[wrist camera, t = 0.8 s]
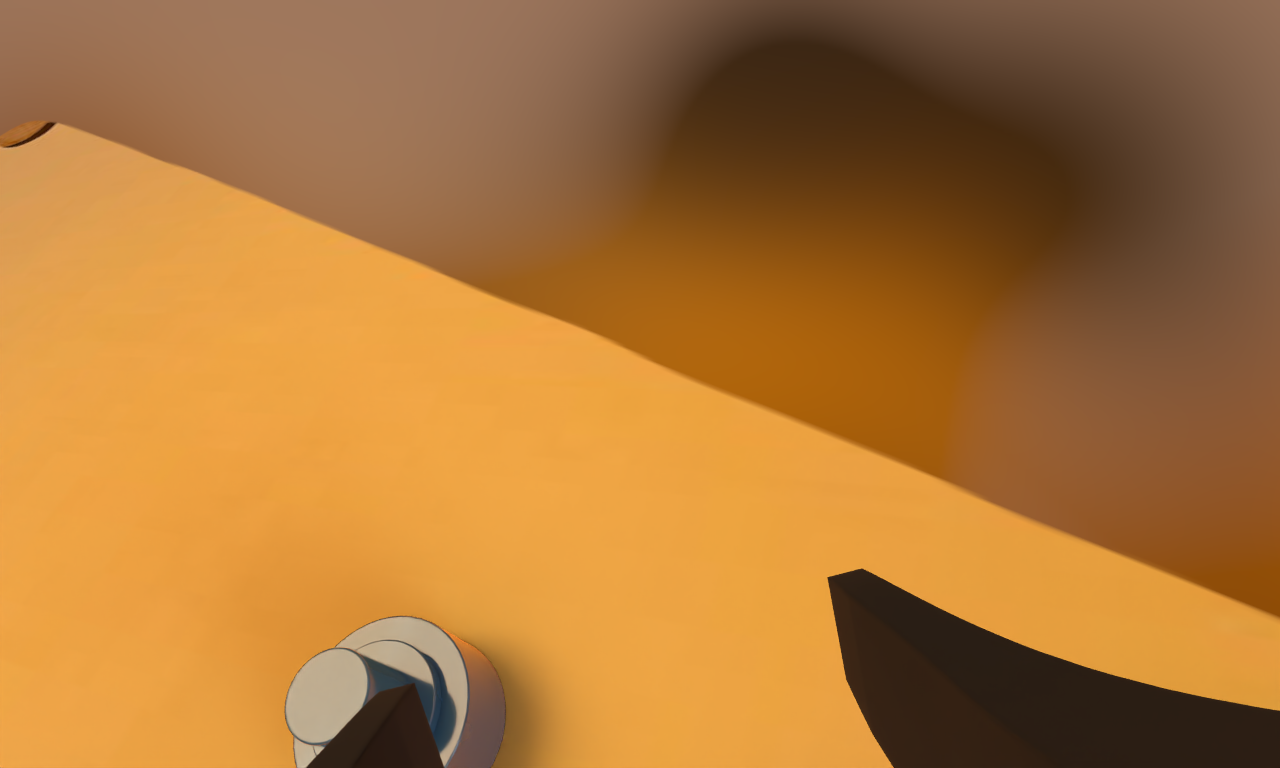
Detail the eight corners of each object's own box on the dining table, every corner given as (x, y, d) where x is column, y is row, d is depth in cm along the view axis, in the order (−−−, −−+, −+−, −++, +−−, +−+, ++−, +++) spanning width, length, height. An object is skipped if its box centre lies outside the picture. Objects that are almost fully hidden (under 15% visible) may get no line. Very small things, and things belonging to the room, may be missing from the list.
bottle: (479, 838, 23) (381, 839, 17) (323, 804, 24) (188, 795, 19) (524, 649, 26) (453, 600, 20) (383, 629, 27) (282, 579, 22)
